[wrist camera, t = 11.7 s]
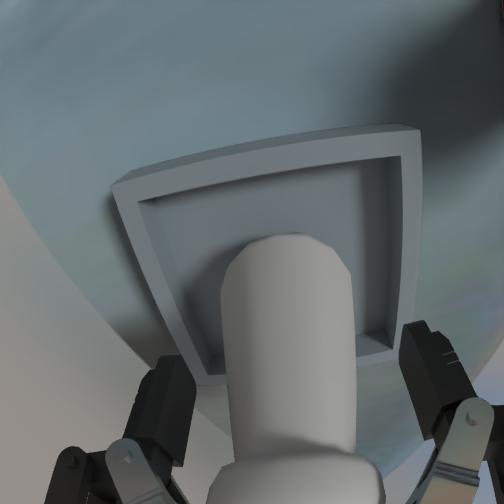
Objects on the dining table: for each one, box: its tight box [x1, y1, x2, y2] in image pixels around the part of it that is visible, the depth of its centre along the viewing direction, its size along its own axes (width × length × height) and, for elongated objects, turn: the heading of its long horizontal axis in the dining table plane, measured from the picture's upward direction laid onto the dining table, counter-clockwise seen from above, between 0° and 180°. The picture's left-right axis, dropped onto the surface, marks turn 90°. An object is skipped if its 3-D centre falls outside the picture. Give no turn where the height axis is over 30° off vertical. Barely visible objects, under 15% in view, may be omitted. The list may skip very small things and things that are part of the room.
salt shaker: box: [206, 232, 386, 504], centre depth 10 cm, size 6×6×13 cm
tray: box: [110, 123, 423, 386], centre depth 15 cm, size 13×13×2 cm
